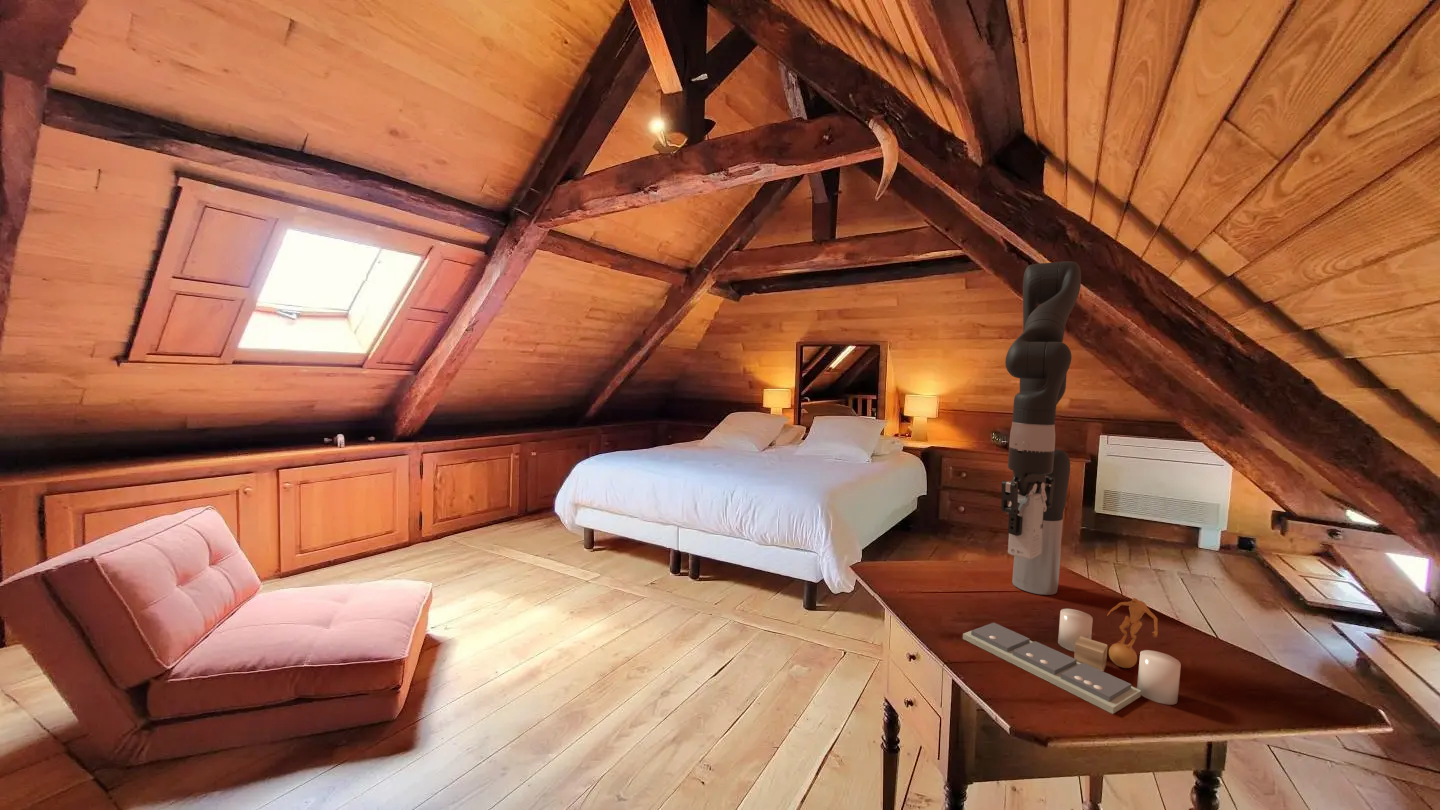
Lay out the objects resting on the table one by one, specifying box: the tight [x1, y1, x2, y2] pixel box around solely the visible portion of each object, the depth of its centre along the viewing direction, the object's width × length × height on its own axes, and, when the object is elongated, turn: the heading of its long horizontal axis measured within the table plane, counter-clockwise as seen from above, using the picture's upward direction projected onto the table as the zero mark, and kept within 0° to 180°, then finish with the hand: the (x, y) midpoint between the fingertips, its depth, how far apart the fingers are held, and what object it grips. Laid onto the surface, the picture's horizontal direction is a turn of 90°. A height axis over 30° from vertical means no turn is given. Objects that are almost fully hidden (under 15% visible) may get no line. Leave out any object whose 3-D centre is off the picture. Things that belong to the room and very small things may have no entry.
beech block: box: [1073, 636, 1108, 672], centre depth 94 cm, size 4×4×4 cm
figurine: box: [1106, 597, 1159, 669], centre depth 94 cm, size 8×6×12 cm
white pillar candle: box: [1136, 649, 1182, 706], centre depth 86 cm, size 5×5×6 cm
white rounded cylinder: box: [1057, 608, 1094, 652], centre depth 100 cm, size 5×5×6 cm
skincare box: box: [1007, 493, 1043, 559], centre depth 104 cm, size 6×4×12 cm
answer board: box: [962, 622, 1142, 715], centre depth 93 cm, size 9×25×2 cm, turn 31°
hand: (1025, 531), depth 104 cm, fingers closed on skincare box, 6 cm apart
